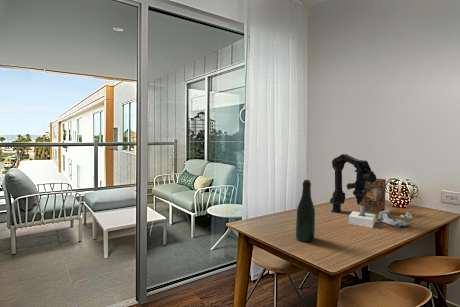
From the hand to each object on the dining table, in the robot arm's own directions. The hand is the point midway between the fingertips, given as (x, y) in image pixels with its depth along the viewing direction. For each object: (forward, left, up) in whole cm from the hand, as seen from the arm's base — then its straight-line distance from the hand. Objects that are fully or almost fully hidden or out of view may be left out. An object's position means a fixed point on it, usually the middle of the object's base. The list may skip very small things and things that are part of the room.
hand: (359, 203), depth 186 cm
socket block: (+1, +2, -13) cm, 13 cm away
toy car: (-9, +20, -13) cm, 26 cm away
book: (-32, +4, -13) cm, 34 cm away
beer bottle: (+50, -20, -13) cm, 56 cm away
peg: (+1, +2, -12) cm, 12 cm away
